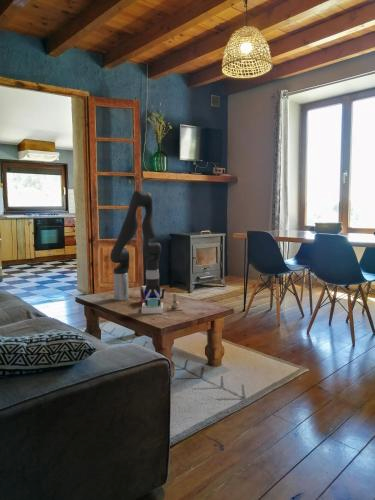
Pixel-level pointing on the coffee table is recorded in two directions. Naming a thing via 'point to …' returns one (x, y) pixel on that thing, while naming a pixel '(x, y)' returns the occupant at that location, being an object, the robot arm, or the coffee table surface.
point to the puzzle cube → (146, 294)
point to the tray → (152, 309)
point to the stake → (175, 304)
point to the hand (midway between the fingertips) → (152, 305)
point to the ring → (152, 302)
